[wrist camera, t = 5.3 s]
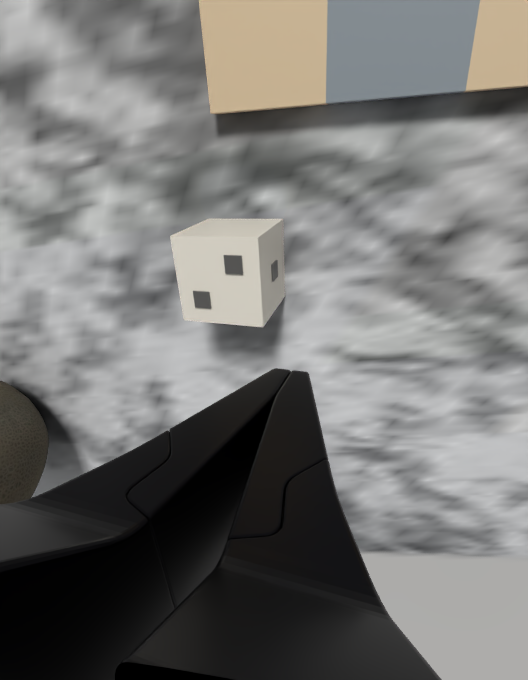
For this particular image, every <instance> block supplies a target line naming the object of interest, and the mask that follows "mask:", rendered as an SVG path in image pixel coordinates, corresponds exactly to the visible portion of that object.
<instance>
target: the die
mask: <svg viewBox="0 0 528 680" xmlns="http://www.w3.org/2000/svg"><path fill="white" fill-rule="evenodd" d="M170 239H171V245H172V251H173V257H174V263H175V269H176V275H177V281H178V287H179V293H180V299H181V305H182V311H183V317H184V320H187V321H198V322H209V323H220V324H231V325H242V326H253V327H264V326H265V324H266V323H267V321H268V320H269V319H270V317H271V316H272V314H273V313H274V311H275V310H276V309H277V307H278V306H279V304H280V303H281V301H282V300H283V299H284V297H285V267H284V231H283V219H207V220H205V221H202V222H200V223H198V224H196V225H193V226H191V227H189V228H187V229H184V230H182V231H180V232H178V233H176V234H173V235H171V236H170Z"/></svg>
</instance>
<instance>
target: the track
mask: <svg viewBox="0 0 528 680" xmlns="http://www.w3.org/2000/svg"><path fill="white" fill-rule="evenodd" d="M199 6H200V16H201V25H202V35H203V45H204V54H205V64H206V73H207V83H208V93H209V102H210V112H211V114H226V113H238V112H249V111H260V110H272V109H283V108H295V107H306V106H317V105H329V104H340V103H351V102H363V101H374V100H386V99H397V98H408V97H420V96H431V95H442V94H454V93H465V92H477V91H488V90H499V89H511V88H522V87H528V0H199Z"/></svg>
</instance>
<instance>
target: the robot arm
mask: <svg viewBox="0 0 528 680" xmlns="http://www.w3.org/2000/svg"><path fill="white" fill-rule="evenodd" d="M0 680H441V678H440V677H439V676H438V675H437V674H436V673H435V671H434V670H433V669H432V668H431V666H430V665H429V664H428V663H427V661H426V660H425V659H424V658H423V657H422V655H421V654H420V653H419V652H418V651H417V649H416V648H415V647H414V646H413V645H412V643H411V642H410V641H409V640H408V639H407V637H406V636H405V635H404V634H403V632H402V631H401V630H400V629H399V627H398V626H397V625H396V624H395V623H394V622H393V620H392V619H391V617H390V616H389V614H388V612H387V611H386V609H385V607H384V605H383V603H382V602H381V600H380V598H379V596H378V594H377V592H376V590H375V587H374V585H373V583H372V581H371V578H370V576H369V573H368V571H367V568H366V566H365V564H364V562H363V559H362V557H361V554H360V551H359V549H358V547H357V544H356V542H355V539H354V537H353V534H352V532H351V530H350V527H349V525H348V522H347V520H346V517H345V515H344V512H343V509H342V507H341V504H340V501H339V498H338V495H337V492H336V489H335V485H334V481H333V478H332V474H331V470H330V465H329V461H328V457H327V452H326V448H325V444H324V439H323V435H322V430H321V426H320V421H319V417H318V412H317V408H316V403H315V399H314V394H313V390H312V386H311V381H310V377H309V374H308V372H303V371H292V372H291V371H290V370H285V369H277V368H275V369H272V370H271V371H269V372H267V373H266V374H264V375H262V376H260V377H259V378H257V379H255V380H254V381H252V382H250V383H248V384H247V385H245V386H243V387H241V388H240V389H238V390H236V391H235V392H233V393H231V394H229V395H228V396H226V397H224V398H222V399H221V400H219V401H217V402H216V403H214V404H212V405H210V406H209V407H207V408H205V409H204V410H202V411H200V412H198V413H197V414H195V415H193V416H191V417H190V418H188V419H186V420H185V421H183V422H181V423H179V424H178V425H176V426H174V427H172V428H171V429H170V432H169V431H165V432H164V433H162V434H160V435H159V436H157V437H155V438H153V439H152V440H150V441H148V442H146V443H144V444H142V445H141V446H139V447H137V448H135V449H133V450H132V451H130V452H128V453H126V454H124V455H122V456H120V457H118V458H116V459H114V460H112V461H110V462H108V463H106V464H103V465H101V466H99V467H97V468H95V469H93V470H91V471H89V472H87V473H85V474H83V475H81V476H79V477H76V478H74V479H72V480H70V481H68V482H66V483H64V484H62V485H60V486H58V487H56V488H54V489H51V490H49V491H47V492H45V493H43V494H40V495H38V496H35V497H32V498H30V499H27V500H23V501H19V502H14V503H8V504H0Z"/></svg>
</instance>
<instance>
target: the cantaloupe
mask: <svg viewBox="0 0 528 680" xmlns="http://www.w3.org/2000/svg"><path fill="white" fill-rule="evenodd" d="M48 445H49V437H48V431H47V428H46V426H45V423H44V421H43V418H42V417H41V415H40V413H39V412H38V410H37V409H36V407H35V406H34V405H33V403H32V402H31V401H30V400H29V399H28V398H27V397H26V396H25V395H23V394H22V393H21V392H19V391H18V390H16V389H15V388H14V387H12V386H10V385H9V384H7V383H5V382H2V381H0V504H8V503H14V502H19V501H23V500H27V499H30V498H31V497H32V495H33V493H34V491H35V489H36V487H37V485H38V482H39V480H40V478H41V475H42V473H43V470H44V467H45V463H46V459H47V454H48Z"/></svg>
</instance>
